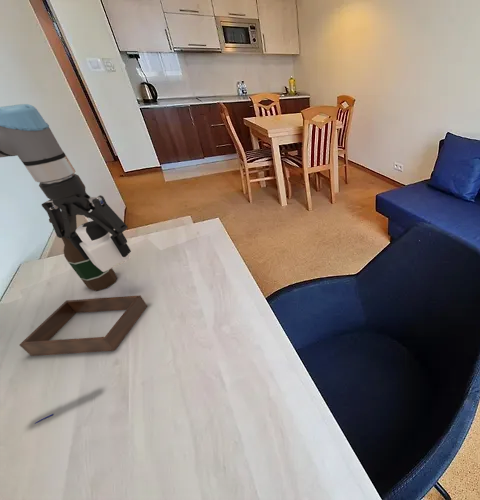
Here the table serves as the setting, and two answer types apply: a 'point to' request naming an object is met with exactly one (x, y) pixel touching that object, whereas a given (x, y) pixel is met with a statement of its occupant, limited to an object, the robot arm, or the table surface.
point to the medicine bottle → (99, 246)
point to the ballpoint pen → (44, 418)
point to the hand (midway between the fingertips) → (108, 255)
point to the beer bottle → (87, 268)
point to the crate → (43, 345)
